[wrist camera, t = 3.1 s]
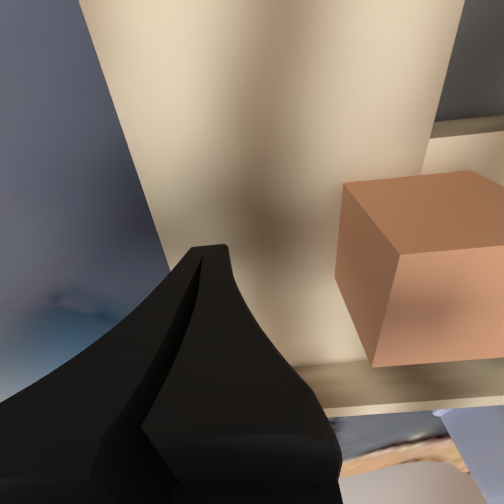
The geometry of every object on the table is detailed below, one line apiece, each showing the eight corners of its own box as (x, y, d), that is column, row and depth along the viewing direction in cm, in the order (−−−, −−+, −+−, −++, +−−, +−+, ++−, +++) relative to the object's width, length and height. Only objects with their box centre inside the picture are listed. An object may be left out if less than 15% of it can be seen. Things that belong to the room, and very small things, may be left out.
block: (469, 170, 10) (603, 236, 6) (434, 268, 13) (514, 356, 9) (343, 182, 10) (400, 254, 6) (334, 277, 13) (371, 367, 9)
